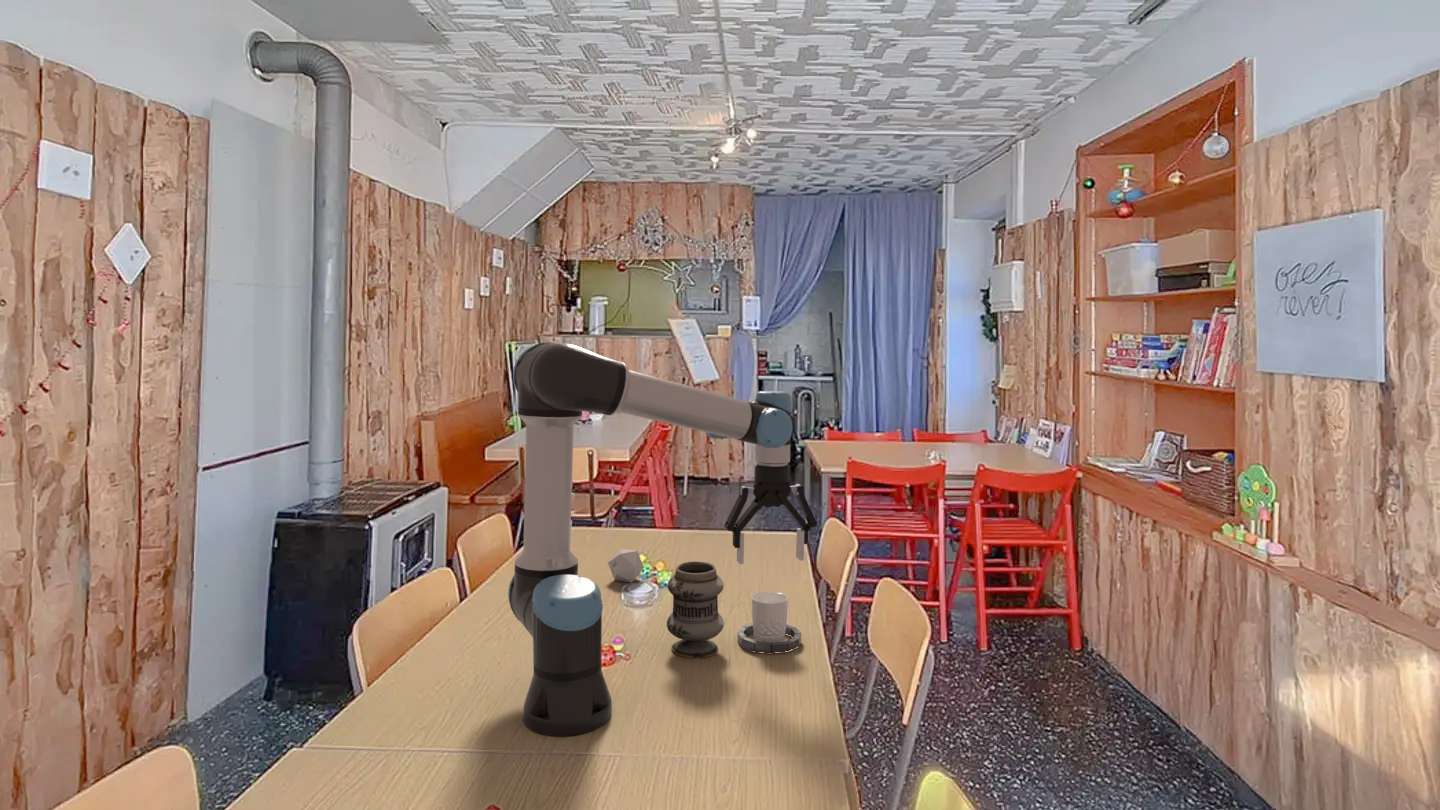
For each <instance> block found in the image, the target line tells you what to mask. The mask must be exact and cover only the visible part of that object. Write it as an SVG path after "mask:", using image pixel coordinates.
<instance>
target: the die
mask: <svg viewBox="0 0 1440 810" xmlns="http://www.w3.org/2000/svg"><path fill="white" fill-rule="evenodd" d="M607 564H608V567H609V569H610V571H611V574H612V577H613V580H614V581H619V582H624V583H631V582H632V583H633V582H634V581H635V580H636V578H638V576H639V575H640V574H641V573H640V571H641V570H642V569H643V568H644V569H645V567H644V564H643V562H642V559H641V557H640V553H639V552H638V550H632V549H625V548H619V550H617V552H616V553H614V555H613V556H612V557H611V559H609V561H607ZM644 569H643V570H644ZM643 570H642V571H643Z"/></svg>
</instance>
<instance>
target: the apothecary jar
mask: <svg viewBox="0 0 1440 810" xmlns="http://www.w3.org/2000/svg"><path fill="white" fill-rule="evenodd" d="M723 589H724V581H723V579H722V578H721V577H720V576H719V575H718V573H717V568H716V566H715V565H714V564H713V563H711V562H706V561H694V560H693V561H686V562H681V563H680V564H677V566H676V567H675V572H674V575H672V576H671V577H670V578H669V579H668V582H667V590H668V591H669V593H670V594H671V595H672V596H673V597H672V598H673V599H672V600H673V601H672V613H671V614H670V615H668V618H667V620H666V627H667V630H668V632H669V633H670V634H671V635H673V636H674V637H676V638H677V639H680V640H678V641H676V642H674V643H673V644H672V646H671V651H672V653H673V654H675V655H677V656H679V657H682V658H687V659H696V658H701V659H703V658H710V657H712V656H714V655H715V654H717V652H718V651H719V648H718V645H717V644H716V643H715V642H713V641H711V639H714V638H716V636H718V635H719V634H720V633H721V632H722V631H723V629H724V626H725V622H724V618H723V616H722V615H721V614H720V613H719V604H718V603H719V602H718V601H719V600H718V599H719V598H718V597H719V595H720V594H721V593H722V591H724V590H723Z"/></svg>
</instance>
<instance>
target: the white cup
mask: <svg viewBox="0 0 1440 810" xmlns="http://www.w3.org/2000/svg"><path fill="white" fill-rule="evenodd" d="M788 604H789V597H788V595H786V593H782V592H778V591H759V592H756V593H754V594H752V595H751V617H752V623H753V630H754V634H753V640H755V641H759V642H768V643H775V642H785V641H786V635H785V631H786V624H788V623H787V621H788V620H787V619H788V606H789V605H788Z"/></svg>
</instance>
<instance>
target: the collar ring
mask: <svg viewBox="0 0 1440 810" xmlns="http://www.w3.org/2000/svg"><path fill="white" fill-rule="evenodd" d="M753 633H754V630H753V622H751V623H748V624H745V625H742V626H741V627H740V628H739V629H738V632H737V643H738V644H739V645H740V646H741V648H742V649H745V648H746V649H745V650H747V649H749V650H748V651H750V650H751V651H750V652H752V651H755V652H764V653H775V652H785V651H789V650H791V649H794V648H796V647H798V646H799V644H800V645H801V643H802V632H801V631H800V630H799V629H797V627H796V626H794V625H789V624H788V623H786V631H785V634H788V635H791V636H792V637H793V638H790V639H788V640H787V639H786V640H785V642H775V643H768V642H759V641H755V640H754V638H753V639H752V638H750V637H749V636H751V635H750V634H752V635H754V634H753ZM748 635H749V636H748ZM800 642H801V643H800ZM799 647H800V646H799ZM755 652H754V653H755ZM764 653H763V654H764Z"/></svg>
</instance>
